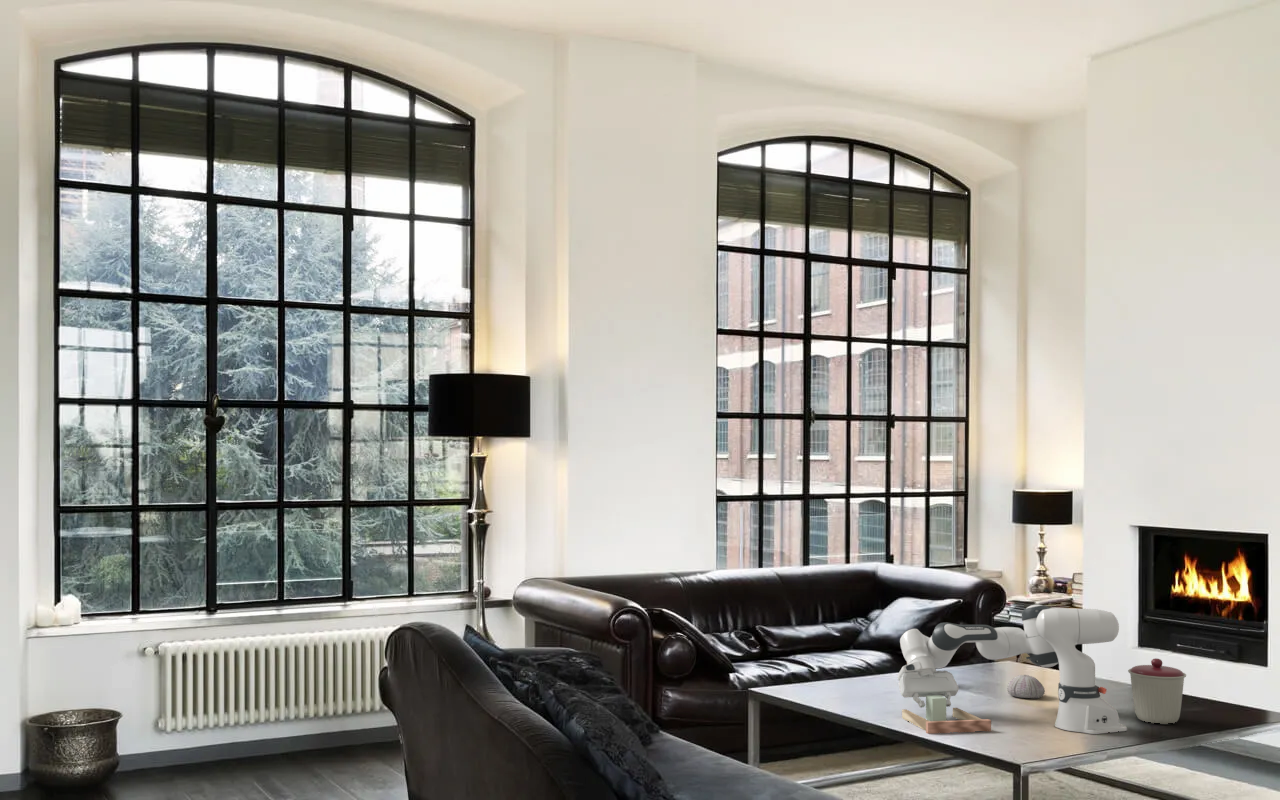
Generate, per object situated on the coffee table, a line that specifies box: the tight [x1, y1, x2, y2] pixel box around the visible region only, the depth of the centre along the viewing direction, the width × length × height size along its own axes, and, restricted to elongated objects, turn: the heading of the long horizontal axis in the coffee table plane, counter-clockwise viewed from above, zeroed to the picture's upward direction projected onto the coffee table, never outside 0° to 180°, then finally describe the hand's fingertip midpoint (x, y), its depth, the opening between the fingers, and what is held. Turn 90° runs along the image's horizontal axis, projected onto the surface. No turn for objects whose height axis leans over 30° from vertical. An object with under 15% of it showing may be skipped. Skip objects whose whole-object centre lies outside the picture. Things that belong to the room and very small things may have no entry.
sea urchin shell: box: [1006, 674, 1046, 699], centre depth 438 cm, size 13×14×8 cm
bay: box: [901, 707, 992, 735], centre depth 389 cm, size 22×22×4 cm
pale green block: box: [925, 695, 947, 721], centre depth 395 cm, size 5×5×8 cm
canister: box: [1127, 657, 1187, 725], centre depth 399 cm, size 18×18×21 cm
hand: (935, 706), depth 395 cm, fingers open, 8 cm apart
